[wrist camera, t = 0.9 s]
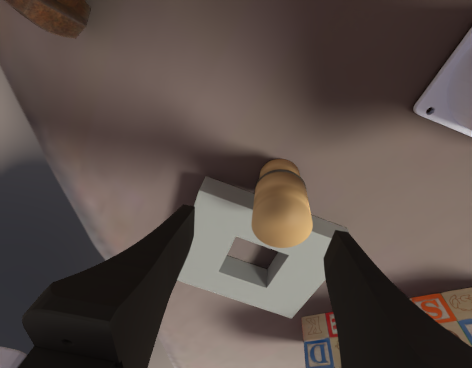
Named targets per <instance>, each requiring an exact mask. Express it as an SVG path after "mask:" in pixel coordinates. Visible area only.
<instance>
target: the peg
mask: <svg viewBox="0 0 472 368" xmlns="http://www.w3.org/2000/svg"><path fill="white" fill-rule="evenodd" d="M251 225H252V230H253V233H254V234H255V236H256V237H257V238H258V239H259V240H260V241H261V242H263V243H265V244H266V245H269V246H272V247H277V248H288V247H293V246H296V245H298V244H300V243H302V242H303V241H305V240H306V239H307V238H308V237H309V235H310V233H311V231H312V228H313V222H312V217H311V212H310V207H309V202H308V197H307V191H306V186H305V183H304V181H303V180H302V178H301V177H300V174H299V170H298V168H297V167H296V165H295V164H293V163H292V162H291V161H288V160H285V159H275V160H271V161H269V162H268V163H266V164H265V165H264V166H263V167H262V169H261V171H260V177H259V180H258V181H257V183H256V186H255V195H254V204H253V213H252V223H251Z"/></svg>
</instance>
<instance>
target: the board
mask: <svg viewBox="0 0 472 368" xmlns="http://www.w3.org/2000/svg"><path fill="white" fill-rule="evenodd" d="M254 195H255V194H253V193H251V192H248V191H245V190H242V189H240V188H237V187H234V186H232V185H229V184H226V183H224V182H221V181H218V180H215V179H213V178H210V177H207V176H205V179H204V181H203V183H202V185H201V187H200V189H199V192H198V195H197V198H196V201H195V204H194V207H195V222H194V238H193V241H192V245H191V248H190V251H189V254H188V256H187V259H186V261H185V263H184V265H183V268H182V270H181V272H180V274H179V277H178V279H177V281H180V282H183V283H186V284H189V285H192V286H195V287H198V288H201V289H204V290H207V291H210V292H213V293H216V294H219V295H222V296H225V297H228V298H231V299H234V300H237V301H240V302H243V303H246V304H249V305H252V306H255V307H258V308H261V309H264V310H267V311H270V312H273V313H276V314H279V315H282V316H285V317H288V318H291V319H292V318H293V316H294V315H295V314H296V313H297V312H298V311H299V309H300V308H301V307H302V306H303V305H304V304H305V303H306V301H307V300H308V299H309V298H310V297H311V296H312V294H313V293H314V292H315V291H316V290H317V289H318V288H319V286H320V285H321V284H322V283H323V282H324V281H325V271H324V259H323V258H324V256H325V253H326V251H327V248H328V246H329V244H330V241H331V239H332V236H333V234H334V232H335V230H339V231H345V232H348V229H347V228H345V227H343V226H340V225H337V224H334V223H332V222H329V221H326V220H324V219H321V218H318V217H316V216H313V215H311V217H312V222H313V228H312V231H311V233H310V235H309V237H308V238H307V239H306V240H305V241H303V242H302V243H300V244H298V245H296V246H293V247H288V248H277V247H272V246H269V245H266V244H265V243H263V242H261V241H260V240H259V239H258V238H257V237H256V236H255V234H254V233H253V230H252V225H251V223H252V213H253V204H254ZM348 233H349V232H348ZM235 237H239V238H242V239H244V240H247V241H250V242H253V243H256V244H258V245H261V246H264V247H267V248H270V249H273V250H275V251H278V253H277V255H276V256H275V258H274V259H273V261H272V263H271V264H270V266H269V267H268V269H264V268H262V267H259V266H256V265H253V264H250V263H247V262H244V261H241V260H238V259H236V258H233V257H230V256H227V253H228V251H229V249H230V247H231V245H232V243H233V241H234V239H235Z"/></svg>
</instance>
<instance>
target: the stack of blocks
mask: <svg viewBox="0 0 472 368" xmlns="http://www.w3.org/2000/svg"><path fill="white" fill-rule="evenodd" d="M409 299H410V300H411V301H412V302H413V303H414V304H416V305H417V306H418V307H419V308H420V309H422V310H423V311H424V312H425V313H426V314H428V315H429V316H430V317H431V318H433V319H434V320H435V321H436V322H438V323H439V324H440V325H442V326H443V327H444V328H446V329H447V330H448V331H450V332H451V333H452V334H454V335H455V336H457V337H458V338H459V339H461V340H462V341H464V342H465V343H466V344H468V345H469V346H471V347H472V287H471V288H465V289H459V290H453V291H448V292H443V293H441V294H440V293H437V294H430V295H425V296H419V297H413V298H409ZM301 320H302V330H303V340H304V351H305V364H306V368H341V359H340V350H339V342H338V334H337V328H336V323H335V318H334V314H333V312H329V313H323V314H317V315H311V316H306V317H302V318H301Z"/></svg>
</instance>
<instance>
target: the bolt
mask: <svg viewBox="0 0 472 368" xmlns="http://www.w3.org/2000/svg"><path fill="white" fill-rule="evenodd" d="M4 1H5V2H7V3H8V4H9V5H10V6H12V7H13V8H14V9H15V10H16V11H18V12H19V13H20V14H21V15H23V16H24V17H26V18H27V19H29V20H30V21H31V22H33V23H34V24H36V25H37V26H39V27H40V28H42V29H44V30H46V31H48V32H50V33H52V34H55V35H59V36H63V37H69V38H75V39H76V37H77V36H78V35H79V34H80V33H81V32H82V31H83V30H84V28H85V27H86V25H87V21H88V18H89V14H90V11H91V8H90V7H89V5H88V4H87V3H86V2H85V0H4Z"/></svg>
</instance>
